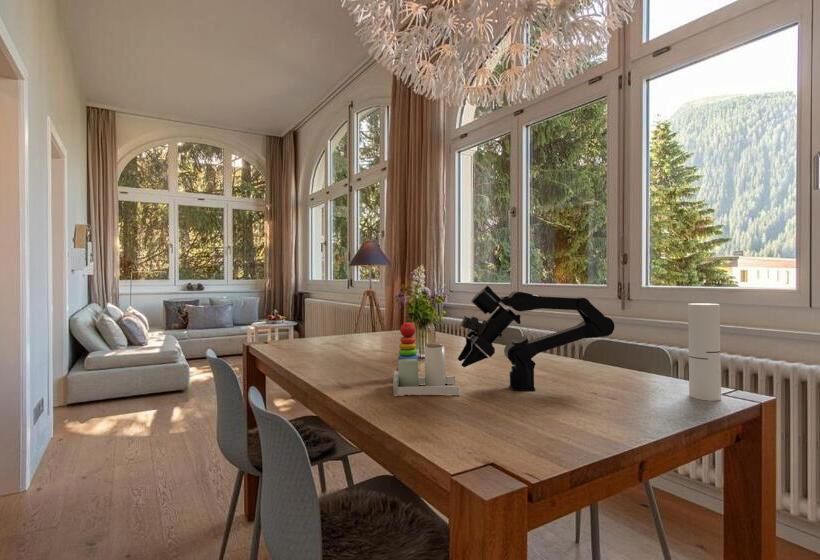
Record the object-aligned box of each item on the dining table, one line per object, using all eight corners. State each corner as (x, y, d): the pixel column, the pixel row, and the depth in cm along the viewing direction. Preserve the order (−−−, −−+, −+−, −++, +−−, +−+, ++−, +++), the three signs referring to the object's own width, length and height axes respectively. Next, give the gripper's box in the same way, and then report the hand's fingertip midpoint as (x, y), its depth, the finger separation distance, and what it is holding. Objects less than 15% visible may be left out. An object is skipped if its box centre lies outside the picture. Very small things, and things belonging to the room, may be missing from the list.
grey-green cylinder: (419, 388, 136) (419, 358, 135) (417, 393, 130) (417, 362, 130) (400, 387, 136) (399, 358, 136) (397, 393, 130) (396, 362, 130)
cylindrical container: (726, 401, 116) (724, 304, 115) (695, 400, 117) (694, 305, 117) (713, 394, 123) (712, 303, 122) (684, 393, 124) (683, 303, 124)
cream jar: (448, 388, 134) (447, 342, 134) (439, 393, 129) (438, 345, 129) (431, 386, 137) (430, 341, 137) (421, 391, 132) (420, 344, 132)
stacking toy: (420, 381, 144) (419, 323, 144) (395, 381, 144) (394, 324, 144) (420, 376, 152) (419, 321, 152) (396, 376, 152) (395, 321, 152)
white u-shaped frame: (455, 383, 141) (454, 369, 141) (460, 396, 125) (460, 380, 125) (394, 384, 140) (394, 370, 140) (393, 397, 125) (393, 381, 125)
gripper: (471, 304, 142) (438, 340, 142) (481, 308, 124) (443, 349, 124) (497, 328, 142) (464, 364, 142) (511, 336, 124) (472, 377, 124)
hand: (460, 363), depth 133 cm, fingers open, 9 cm apart
